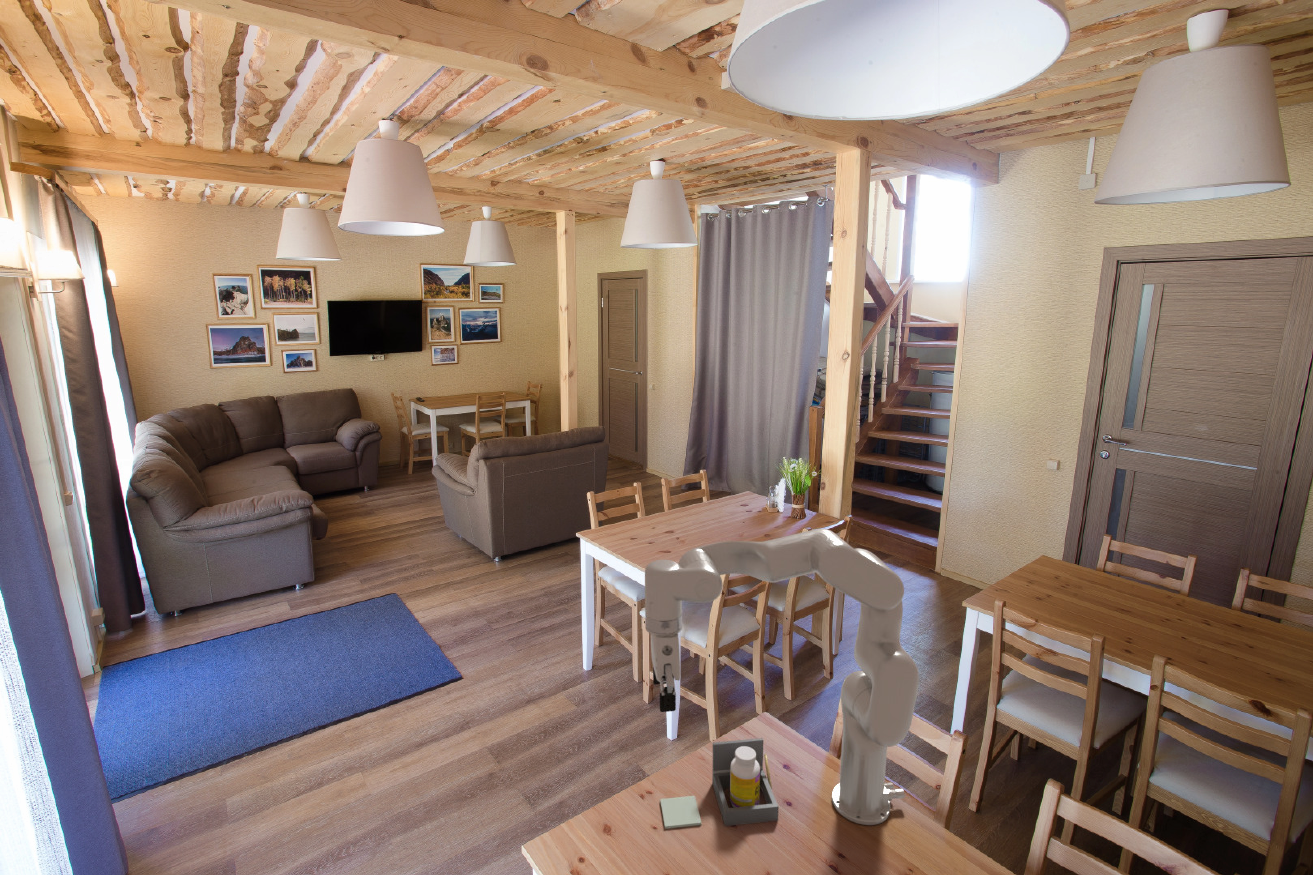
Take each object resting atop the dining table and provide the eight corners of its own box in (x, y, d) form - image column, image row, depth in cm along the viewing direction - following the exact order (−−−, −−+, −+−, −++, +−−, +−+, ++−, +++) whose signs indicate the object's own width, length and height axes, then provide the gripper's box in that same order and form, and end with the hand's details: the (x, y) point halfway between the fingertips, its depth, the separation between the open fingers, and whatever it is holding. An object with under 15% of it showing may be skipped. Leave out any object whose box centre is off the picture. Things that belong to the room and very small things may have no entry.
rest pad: (694, 797, 147) (694, 795, 147) (701, 824, 139) (701, 822, 139) (660, 801, 146) (660, 798, 146) (665, 828, 138) (665, 826, 138)
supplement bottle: (758, 816, 142) (759, 765, 139) (728, 811, 143) (729, 761, 140) (759, 794, 148) (761, 745, 146) (731, 790, 149) (732, 741, 147)
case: (765, 778, 153) (766, 737, 151) (782, 819, 140) (783, 775, 138) (712, 783, 151) (712, 742, 149) (724, 825, 139) (725, 781, 137)
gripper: (689, 640, 122) (689, 720, 125) (674, 601, 139) (674, 672, 142) (651, 643, 121) (651, 724, 124) (640, 603, 138) (641, 675, 141)
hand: (664, 696), depth 133 cm, fingers open, 9 cm apart
